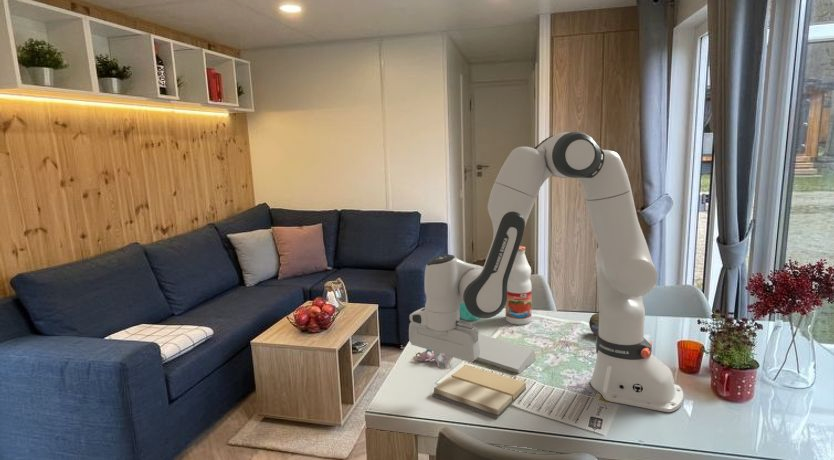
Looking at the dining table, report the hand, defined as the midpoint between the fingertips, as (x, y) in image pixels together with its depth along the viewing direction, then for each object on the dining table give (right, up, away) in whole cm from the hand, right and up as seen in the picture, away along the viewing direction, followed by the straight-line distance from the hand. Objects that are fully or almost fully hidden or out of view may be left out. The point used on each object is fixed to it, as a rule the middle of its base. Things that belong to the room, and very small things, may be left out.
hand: (444, 367), depth 126 cm
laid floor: (+10, -8, +3) cm, 13 cm away
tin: (+58, 0, +33) cm, 67 cm away
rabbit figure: (-1, -5, +22) cm, 23 cm away
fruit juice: (+31, +2, +52) cm, 61 cm away
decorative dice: (+13, +3, +58) cm, 59 cm away
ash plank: (+7, -8, 0) cm, 11 cm away
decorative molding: (+13, -4, +27) cm, 30 cm away
